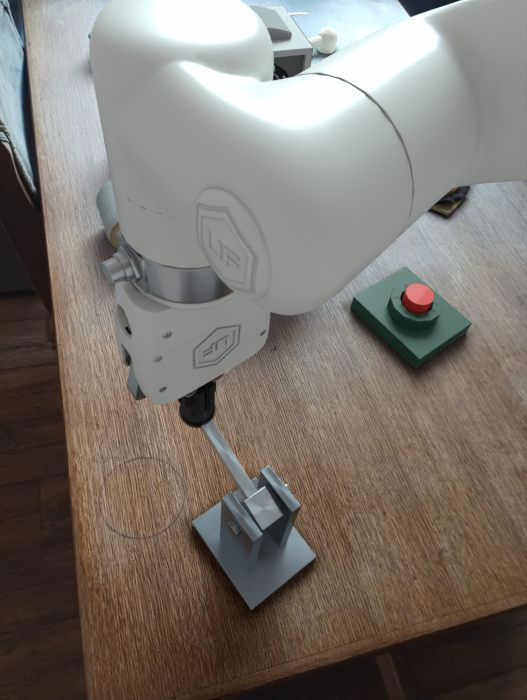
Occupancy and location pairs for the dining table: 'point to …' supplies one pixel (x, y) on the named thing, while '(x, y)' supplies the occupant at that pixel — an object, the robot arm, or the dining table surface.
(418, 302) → the button
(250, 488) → the tap lever
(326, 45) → the faucet
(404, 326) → the button block
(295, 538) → the tap bracket
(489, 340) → the dining table surface
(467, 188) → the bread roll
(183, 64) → the robot arm
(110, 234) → the ceramic mug
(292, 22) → the alarm clock
